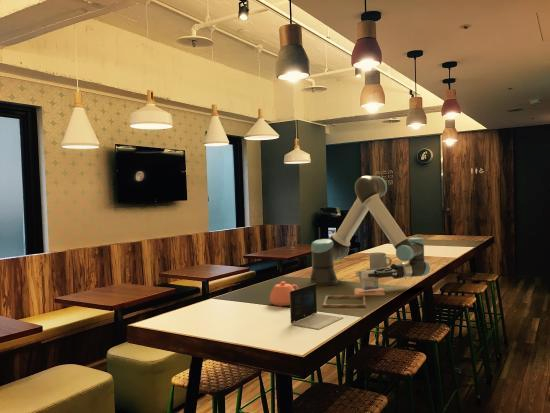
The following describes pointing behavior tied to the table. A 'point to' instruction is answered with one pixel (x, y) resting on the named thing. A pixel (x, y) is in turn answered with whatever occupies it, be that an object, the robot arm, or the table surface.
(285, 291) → the sugar bowl
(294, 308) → the laptop
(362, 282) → the medicine box
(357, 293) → the terracotta mat
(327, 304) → the walnut frame
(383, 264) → the coffee mug
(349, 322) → the table surface
